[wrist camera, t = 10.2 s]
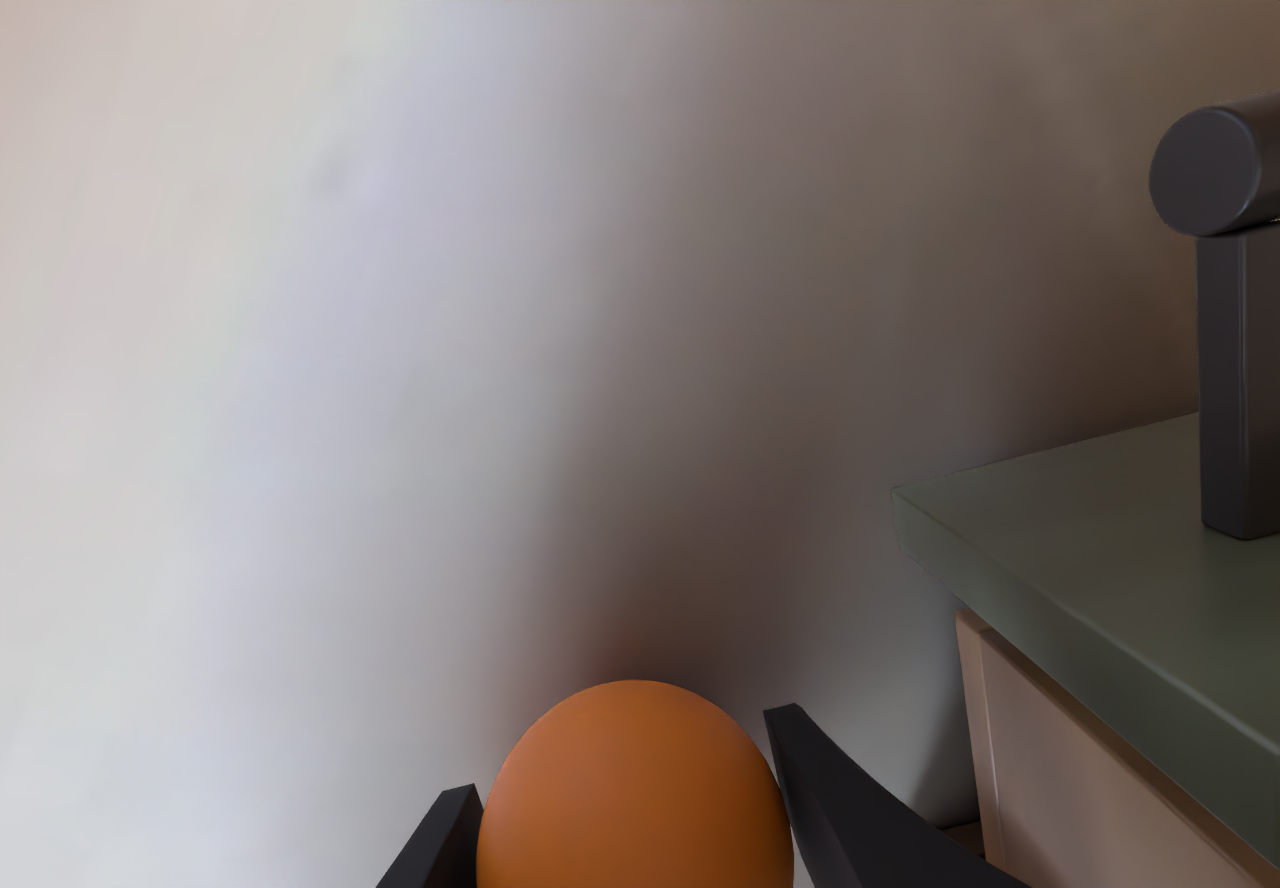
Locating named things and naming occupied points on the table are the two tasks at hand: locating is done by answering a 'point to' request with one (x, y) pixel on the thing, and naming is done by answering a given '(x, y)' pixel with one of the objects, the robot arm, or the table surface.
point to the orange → (635, 798)
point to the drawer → (1138, 580)
